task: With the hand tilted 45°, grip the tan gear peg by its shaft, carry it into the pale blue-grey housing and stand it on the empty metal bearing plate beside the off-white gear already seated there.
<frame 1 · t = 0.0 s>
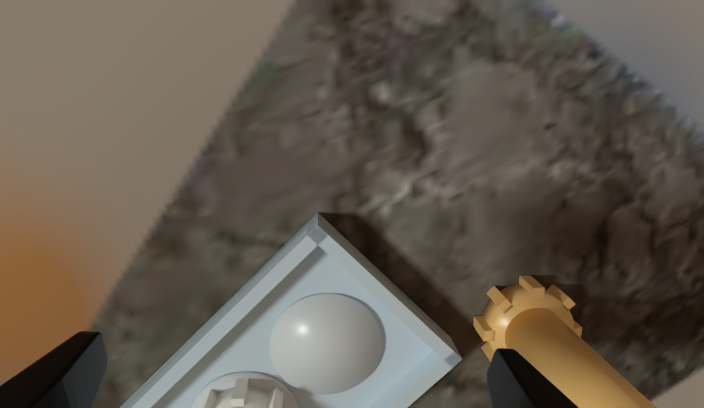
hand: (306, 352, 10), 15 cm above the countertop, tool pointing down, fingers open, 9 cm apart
housing: (286, 371, 27), on the countertop
tan gear peg: (519, 319, 28), on the countertop
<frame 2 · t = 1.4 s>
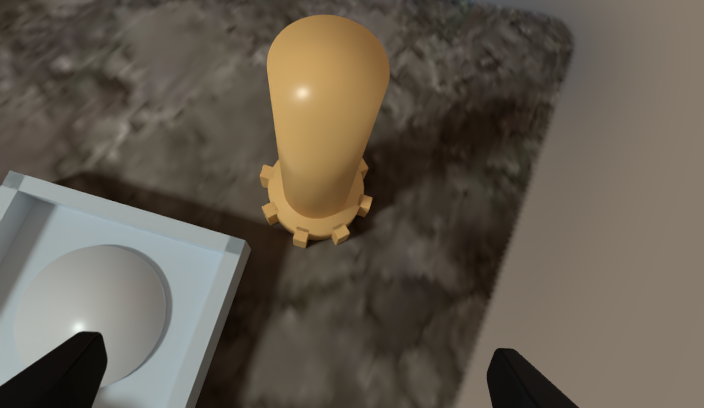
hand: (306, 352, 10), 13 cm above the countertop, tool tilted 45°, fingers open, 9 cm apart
housing: (70, 389, 21), on the countertop
tan gear peg: (315, 196, 25), on the countertop
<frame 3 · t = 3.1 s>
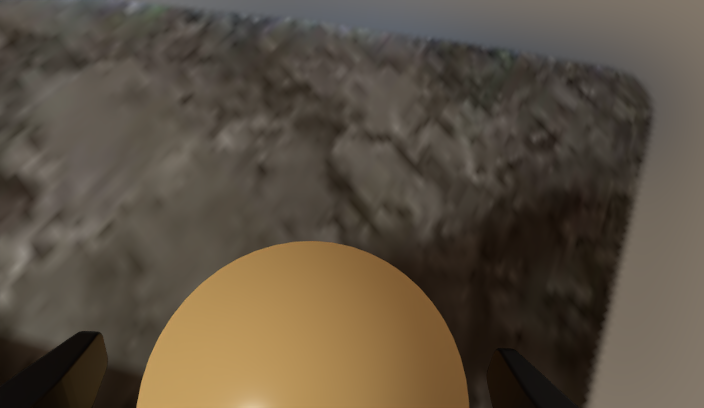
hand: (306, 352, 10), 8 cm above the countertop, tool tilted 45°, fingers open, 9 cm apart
tan gear peg: (303, 352, 17), on the countertop
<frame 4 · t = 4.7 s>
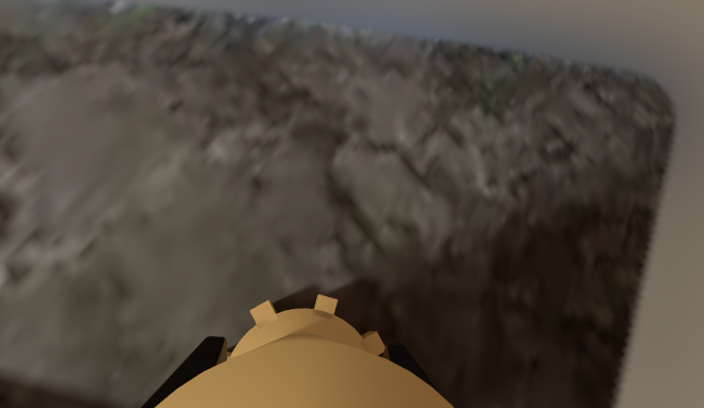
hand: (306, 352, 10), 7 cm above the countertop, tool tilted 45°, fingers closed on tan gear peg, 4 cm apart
tan gear peg: (301, 383, 16), on the countertop, touching gripper
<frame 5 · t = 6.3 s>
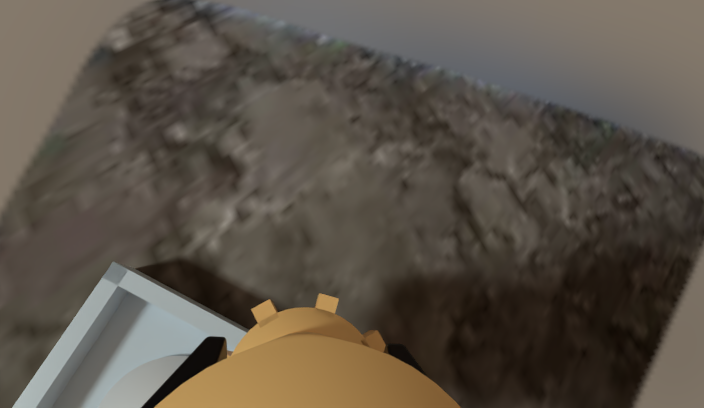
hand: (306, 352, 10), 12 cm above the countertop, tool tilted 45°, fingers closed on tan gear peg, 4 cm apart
tan gear peg: (302, 382, 16), point 6 cm above the countertop, touching gripper
when the fingers open (9 cm above the countertop, at t = 8.2 s): tan gear peg drops 1 cm, resting on housing.
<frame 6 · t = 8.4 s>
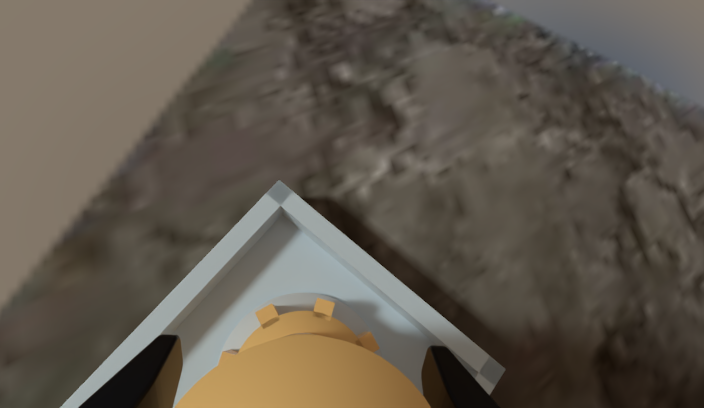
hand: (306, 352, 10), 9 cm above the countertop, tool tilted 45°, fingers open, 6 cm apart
tan gear peg: (302, 379, 17), point 1 cm above the countertop, touching housing
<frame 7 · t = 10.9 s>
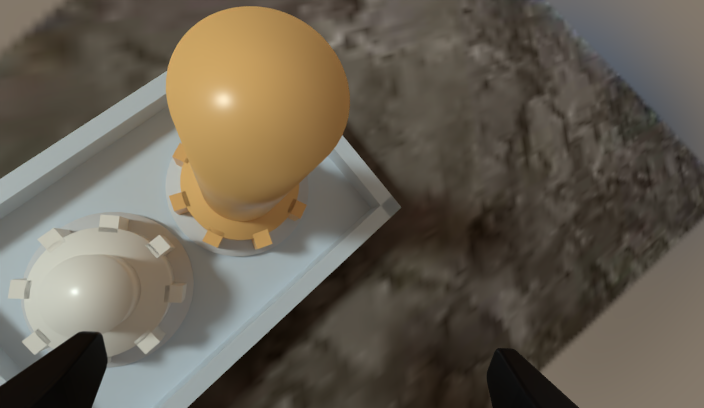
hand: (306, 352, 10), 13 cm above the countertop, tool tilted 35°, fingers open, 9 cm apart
housing: (181, 235, 21), on the countertop
tan gear peg: (240, 187, 21), point 1 cm above the countertop, touching housing
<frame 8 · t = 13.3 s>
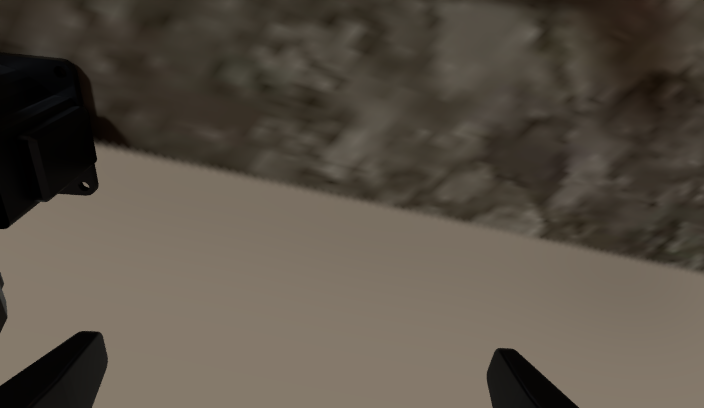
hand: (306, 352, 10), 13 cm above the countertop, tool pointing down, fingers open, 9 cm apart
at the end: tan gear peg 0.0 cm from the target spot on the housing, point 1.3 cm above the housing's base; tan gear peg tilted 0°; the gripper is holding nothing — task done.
